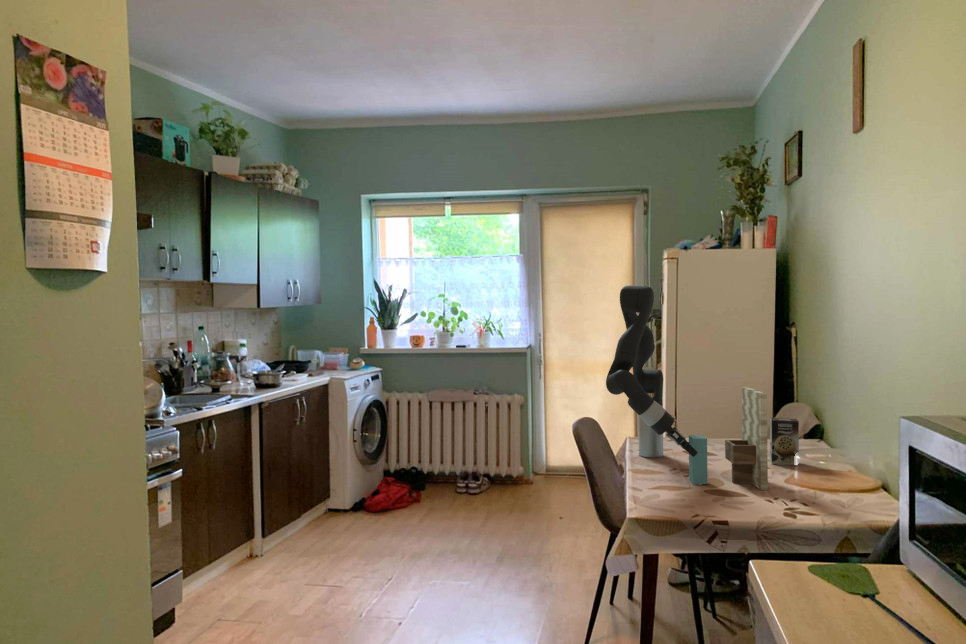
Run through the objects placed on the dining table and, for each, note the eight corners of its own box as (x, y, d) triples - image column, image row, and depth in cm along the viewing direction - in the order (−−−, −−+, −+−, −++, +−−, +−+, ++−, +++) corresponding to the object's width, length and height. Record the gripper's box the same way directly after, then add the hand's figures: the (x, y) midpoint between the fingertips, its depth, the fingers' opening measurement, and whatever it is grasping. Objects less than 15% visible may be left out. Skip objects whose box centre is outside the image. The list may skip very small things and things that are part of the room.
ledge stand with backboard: (721, 475, 227) (720, 387, 226) (748, 475, 226) (747, 386, 225) (738, 490, 209) (737, 394, 208) (767, 490, 208) (766, 394, 207)
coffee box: (771, 464, 240) (771, 420, 240) (769, 460, 246) (769, 417, 246) (799, 466, 237) (799, 421, 237) (797, 462, 243) (796, 418, 243)
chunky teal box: (689, 480, 221) (688, 435, 221) (703, 480, 221) (702, 435, 221) (693, 484, 216) (692, 438, 215) (707, 484, 216) (707, 438, 215)
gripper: (668, 412, 211) (706, 448, 211) (660, 405, 226) (695, 439, 225) (652, 429, 212) (689, 465, 211) (644, 421, 226) (679, 455, 226)
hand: (692, 451), depth 218 cm, fingers open, 8 cm apart
